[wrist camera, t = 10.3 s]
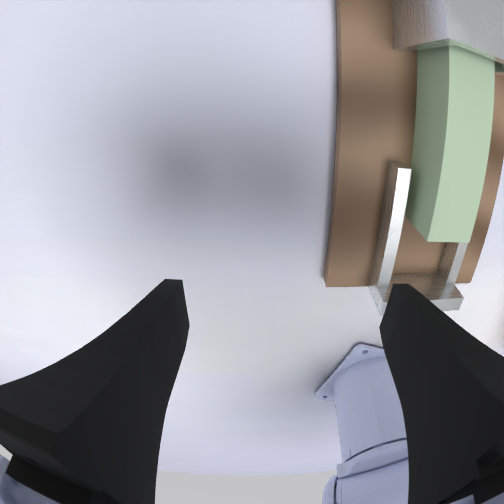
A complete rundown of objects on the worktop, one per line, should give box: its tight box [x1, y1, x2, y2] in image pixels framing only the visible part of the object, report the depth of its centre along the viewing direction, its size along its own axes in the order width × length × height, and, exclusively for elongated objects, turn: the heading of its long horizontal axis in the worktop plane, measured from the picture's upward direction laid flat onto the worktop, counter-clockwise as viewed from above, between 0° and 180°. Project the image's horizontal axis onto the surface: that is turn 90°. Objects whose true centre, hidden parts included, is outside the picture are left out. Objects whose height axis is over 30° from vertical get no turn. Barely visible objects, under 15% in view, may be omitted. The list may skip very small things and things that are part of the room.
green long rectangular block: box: [404, 45, 495, 243], centre depth 12 cm, size 13×3×4 cm, turn 1°
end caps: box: [368, 0, 504, 315], centre depth 12 cm, size 22×6×6 cm, turn 1°
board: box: [324, 0, 504, 287], centre depth 15 cm, size 22×12×1 cm, turn 1°
